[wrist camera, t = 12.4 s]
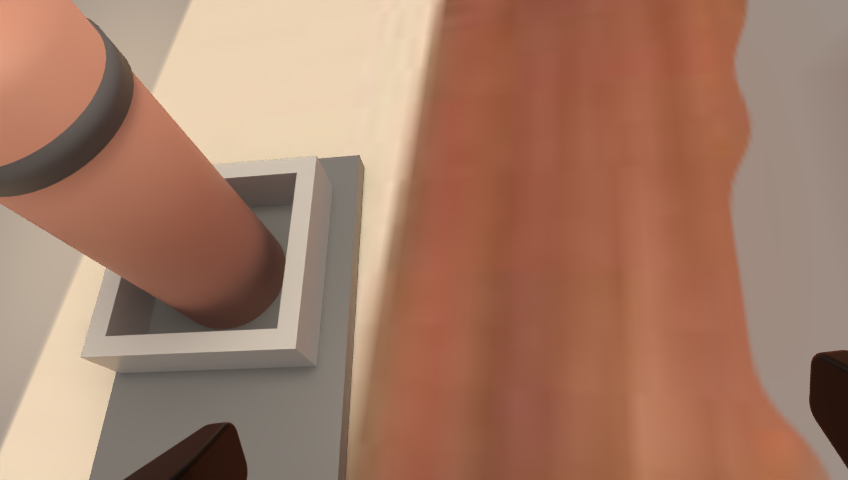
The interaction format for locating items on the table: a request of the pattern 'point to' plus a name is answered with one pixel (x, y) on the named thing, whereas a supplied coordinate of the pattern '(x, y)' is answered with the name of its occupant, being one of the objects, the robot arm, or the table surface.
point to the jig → (246, 339)
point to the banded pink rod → (122, 172)
